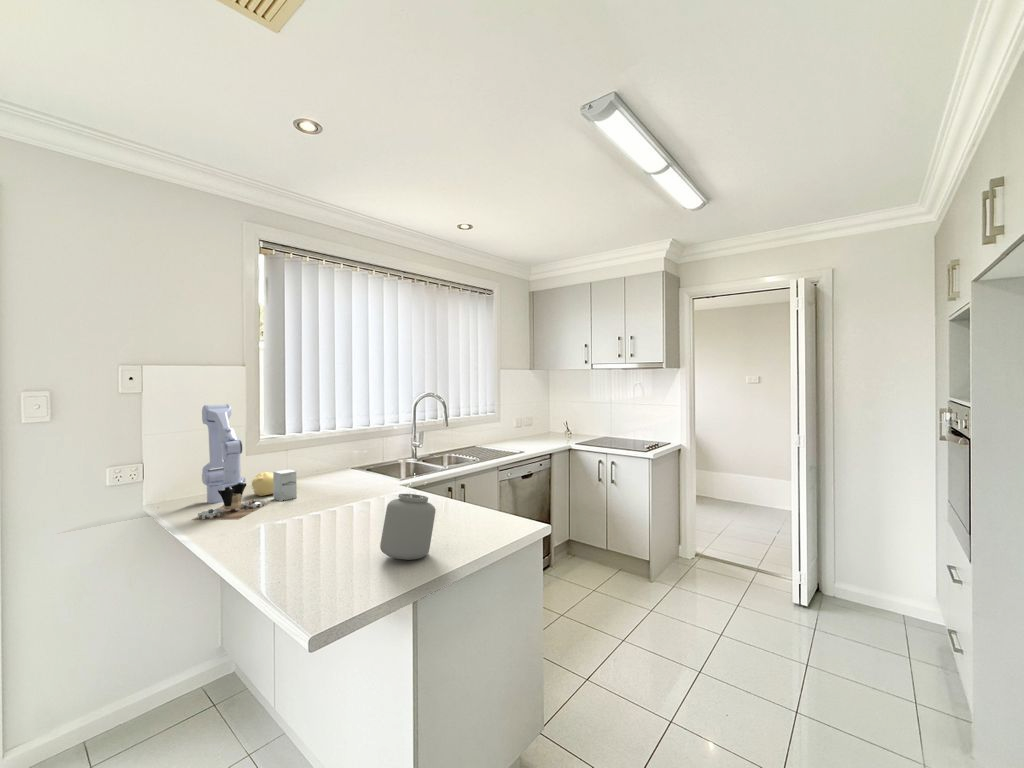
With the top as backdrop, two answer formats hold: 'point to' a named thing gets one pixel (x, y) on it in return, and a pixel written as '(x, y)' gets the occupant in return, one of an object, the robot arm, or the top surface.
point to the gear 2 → (253, 504)
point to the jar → (408, 527)
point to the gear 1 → (210, 514)
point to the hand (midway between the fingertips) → (232, 503)
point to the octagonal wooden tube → (234, 501)
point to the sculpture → (263, 484)
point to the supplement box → (284, 485)
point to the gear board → (234, 513)
